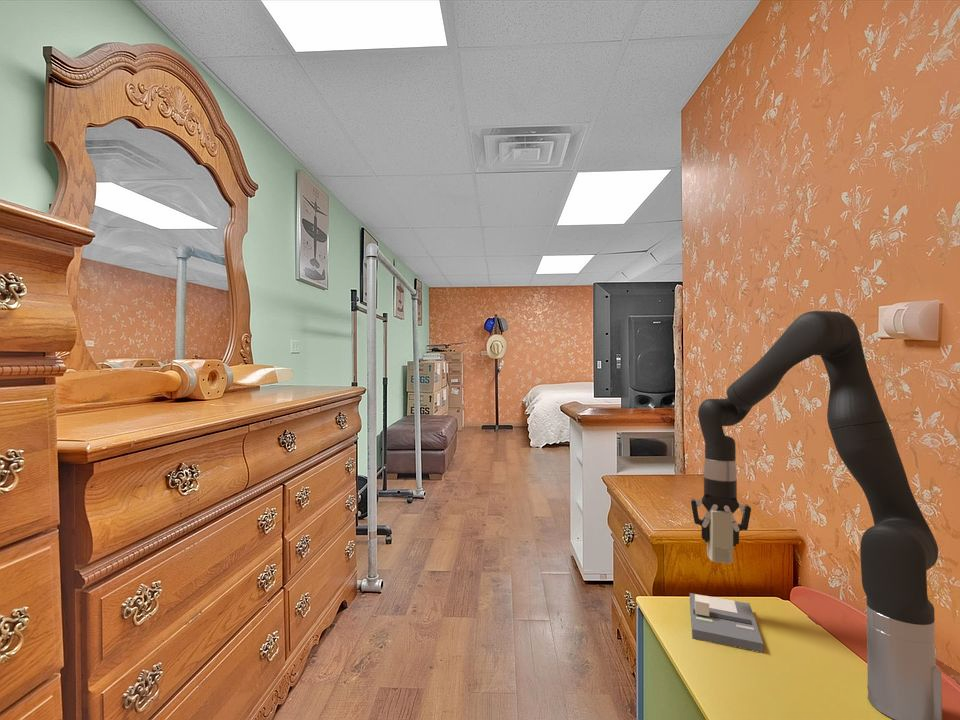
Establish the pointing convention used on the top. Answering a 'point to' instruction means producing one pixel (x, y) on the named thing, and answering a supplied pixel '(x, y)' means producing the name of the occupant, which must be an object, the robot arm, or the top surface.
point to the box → (720, 537)
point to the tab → (701, 605)
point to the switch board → (726, 624)
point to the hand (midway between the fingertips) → (720, 543)
